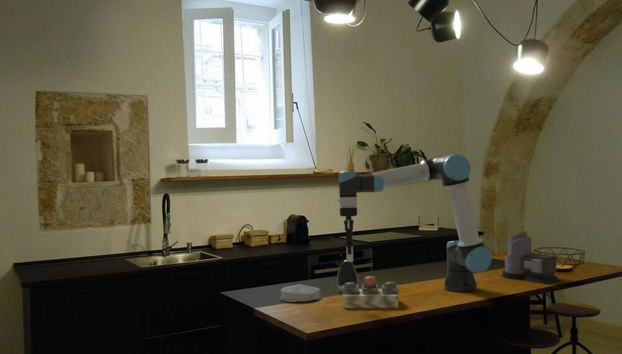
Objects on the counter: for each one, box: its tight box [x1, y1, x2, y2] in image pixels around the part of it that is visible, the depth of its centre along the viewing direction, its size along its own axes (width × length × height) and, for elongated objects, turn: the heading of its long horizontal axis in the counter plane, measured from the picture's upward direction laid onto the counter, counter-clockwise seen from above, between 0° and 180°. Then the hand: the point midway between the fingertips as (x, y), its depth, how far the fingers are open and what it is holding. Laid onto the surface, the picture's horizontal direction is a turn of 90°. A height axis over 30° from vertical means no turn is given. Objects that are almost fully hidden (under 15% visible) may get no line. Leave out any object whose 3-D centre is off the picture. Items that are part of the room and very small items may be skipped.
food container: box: [279, 283, 323, 303], centre depth 250 cm, size 20×20×7 cm
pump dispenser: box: [335, 259, 359, 292], centre depth 261 cm, size 10×10×15 cm
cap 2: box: [384, 281, 396, 288], centre depth 234 cm, size 4×4×4 cm
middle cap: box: [364, 275, 376, 288], centre depth 235 cm, size 4×4×4 cm
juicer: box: [499, 230, 562, 285], centre depth 281 cm, size 30×16×24 cm, turn 32°
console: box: [341, 284, 400, 309], centre depth 235 cm, size 24×14×8 cm, turn 84°
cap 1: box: [345, 282, 355, 288], centre depth 236 cm, size 4×4×4 cm
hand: (350, 261), depth 236 cm, fingers closed
